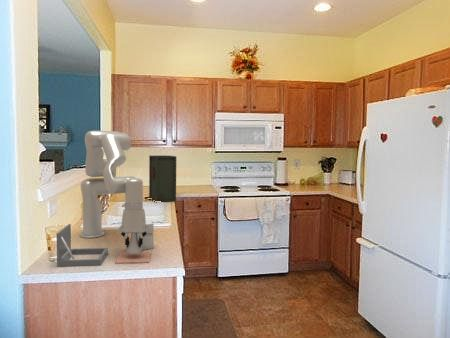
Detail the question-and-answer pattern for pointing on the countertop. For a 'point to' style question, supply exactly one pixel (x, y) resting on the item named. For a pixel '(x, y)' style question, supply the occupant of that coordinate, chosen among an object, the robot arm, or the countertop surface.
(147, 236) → the supplement box
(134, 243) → the flask
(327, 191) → the countertop surface
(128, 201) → the robot arm
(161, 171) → the dark green tall block
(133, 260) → the plate
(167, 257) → the countertop surface
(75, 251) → the case
